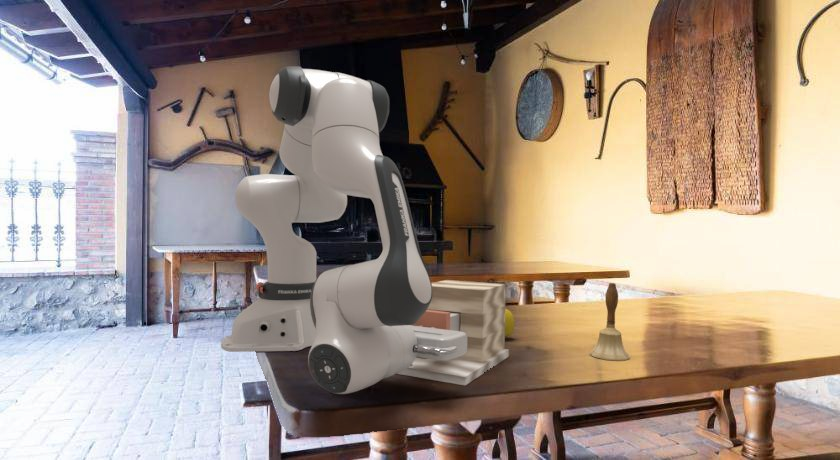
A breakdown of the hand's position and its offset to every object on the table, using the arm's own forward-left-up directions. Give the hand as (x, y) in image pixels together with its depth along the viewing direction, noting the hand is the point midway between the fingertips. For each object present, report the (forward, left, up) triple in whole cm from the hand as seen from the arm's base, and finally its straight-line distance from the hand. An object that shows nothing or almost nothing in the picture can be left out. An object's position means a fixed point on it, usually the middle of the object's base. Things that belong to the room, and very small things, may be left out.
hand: (428, 330), depth 97 cm
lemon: (+28, +25, -9) cm, 39 cm away
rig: (+7, +7, -9) cm, 13 cm away
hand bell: (+43, +4, -9) cm, 45 cm away
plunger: (+4, +4, -3) cm, 7 cm away
